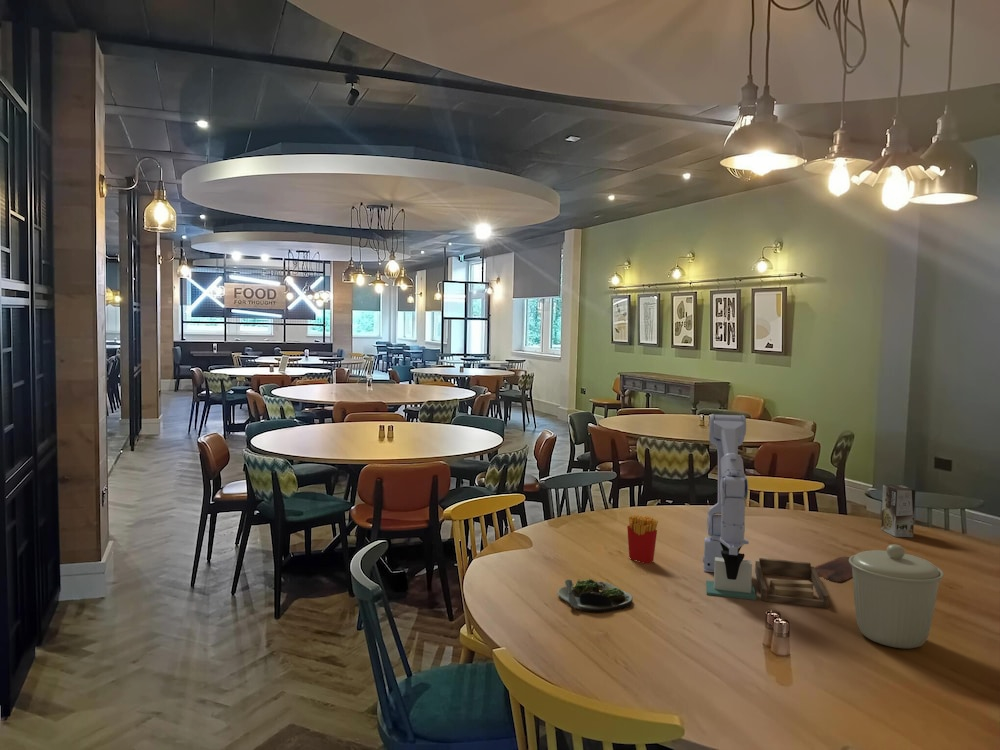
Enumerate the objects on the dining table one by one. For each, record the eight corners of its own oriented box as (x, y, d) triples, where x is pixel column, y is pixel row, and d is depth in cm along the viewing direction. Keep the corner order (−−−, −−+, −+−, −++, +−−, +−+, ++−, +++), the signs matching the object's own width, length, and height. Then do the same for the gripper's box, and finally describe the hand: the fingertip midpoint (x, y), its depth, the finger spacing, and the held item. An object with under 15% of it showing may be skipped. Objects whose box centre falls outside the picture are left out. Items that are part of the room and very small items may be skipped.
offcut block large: (773, 596, 178) (774, 583, 178) (769, 593, 180) (770, 579, 180) (812, 597, 178) (813, 583, 178) (808, 593, 180) (808, 580, 180)
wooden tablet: (842, 551, 212) (877, 556, 205) (842, 559, 212) (878, 563, 205) (803, 571, 195) (840, 576, 187) (804, 579, 195) (841, 585, 187)
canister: (939, 665, 141) (945, 564, 140) (841, 643, 151) (845, 548, 149) (939, 633, 156) (944, 541, 155) (849, 615, 166) (853, 528, 165)
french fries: (624, 558, 206) (625, 515, 205) (631, 555, 209) (632, 512, 208) (652, 565, 200) (653, 521, 199) (659, 561, 203) (660, 518, 202)
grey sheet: (714, 589, 180) (715, 560, 180) (714, 585, 183) (714, 557, 183) (750, 593, 178) (752, 564, 177) (750, 588, 181) (751, 560, 180)
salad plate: (539, 591, 180) (540, 573, 180) (597, 581, 188) (598, 564, 187) (579, 619, 162) (580, 600, 162) (641, 607, 170) (642, 588, 170)
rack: (762, 600, 174) (762, 585, 174) (755, 571, 196) (755, 557, 196) (828, 608, 170) (828, 592, 170) (813, 577, 192) (814, 563, 192)
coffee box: (914, 537, 232) (916, 489, 231) (894, 537, 232) (897, 489, 231) (898, 529, 241) (901, 483, 240) (880, 529, 241) (882, 483, 240)
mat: (706, 594, 178) (706, 592, 178) (706, 582, 187) (706, 580, 187) (756, 600, 175) (756, 597, 175) (753, 587, 183) (753, 585, 183)
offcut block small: (775, 600, 175) (775, 589, 175) (773, 597, 178) (773, 585, 178) (813, 603, 174) (813, 592, 173) (810, 599, 176) (811, 588, 176)
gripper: (751, 531, 172) (749, 585, 172) (747, 516, 186) (745, 566, 186) (721, 529, 174) (719, 582, 174) (719, 514, 187) (717, 563, 188)
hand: (731, 574), depth 180 cm, fingers open, 7 cm apart
